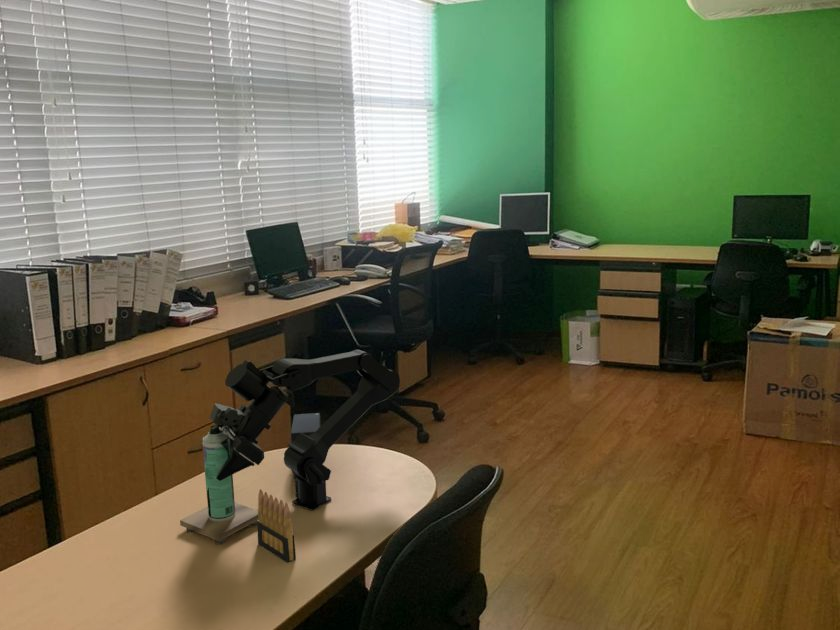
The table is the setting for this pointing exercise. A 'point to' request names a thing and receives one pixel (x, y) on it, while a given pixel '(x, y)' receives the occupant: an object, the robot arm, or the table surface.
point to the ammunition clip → (275, 527)
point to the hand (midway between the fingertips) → (212, 471)
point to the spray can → (217, 491)
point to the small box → (305, 425)
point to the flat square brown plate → (220, 523)
